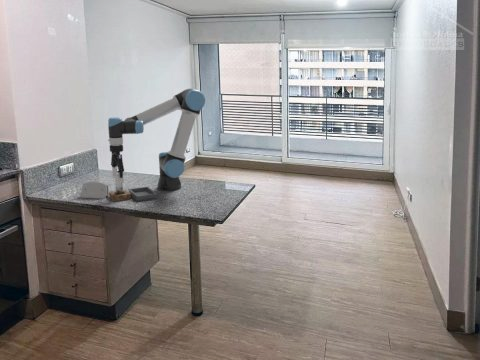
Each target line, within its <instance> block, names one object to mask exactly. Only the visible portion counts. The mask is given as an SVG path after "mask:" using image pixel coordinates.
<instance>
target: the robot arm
mask: <svg viewBox="0 0 480 360" xmlns="http://www.w3.org/2000/svg"><path fill="white" fill-rule="evenodd" d="M205 104H206V97H205V95H204V93H203V92H202V91H200V90H198V89H196V88H195V89H194V88H187V89H183V90H182V91H181V92H179V93H177V94H175V95H173V97H172V98H169V100H165V101H164V102H161V103H160V104H157V105H155V106H153V107H150V108H149V109H145V110H144V111H141V112H139V113H138V114H135V115H133V116H131V117H127V118H125V119H124V120H122V118H121V117H120V116H119V117H113V116H112V117H110V118H108V120H107V121H108V123H107V125H108V127H107V128H108V142H109V152H111V158H110V159H111V160H110V166H111V168H112V169H111V170H112V172H111V173H112V179H115V175H117V174H118V180H119V183H122V184H124V180H125V179H124V172H125V168H124V162H123V154H121V152H123V151H124V145H123V144H124V139H123V138H124V137H123V135H138V134H143V133H144V126H145V125H147V124H150V123H152V122H154V121H156V120H158V119H161V118H162V117H165V116H167V115H170V114H172V113H173V112H176V111H178V110H179V111H181V115H180V118H179V121H178V123H177V124H178V125H177V128H176V131H175V135H174V138H173V141H172V145H171V148H170V150H169V151H166V152H164V151H163V152H160V153H159V154H158V163H159V164H158V166H159V167H158V168H159V178H158V182H157V185H156V186H157V189H158V190H161V191H174V190H175V191H176V190H179V189H181V188H182V183H181V179H180V177H181V176H182V175H183V174H184V171H185V163H186V156H185V154H186V151H187V146H188V143H189V140H190V137H191V133H192V132H193V131H192V130H193V128H194V125H195V121H196V118H197V116H200V113H201V110H202V109H203V108H204V106H205Z"/></svg>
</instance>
